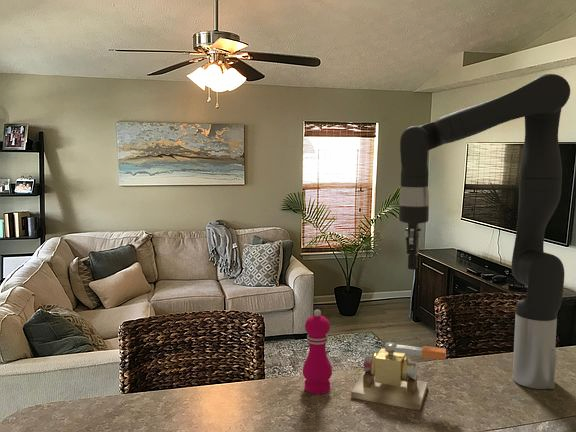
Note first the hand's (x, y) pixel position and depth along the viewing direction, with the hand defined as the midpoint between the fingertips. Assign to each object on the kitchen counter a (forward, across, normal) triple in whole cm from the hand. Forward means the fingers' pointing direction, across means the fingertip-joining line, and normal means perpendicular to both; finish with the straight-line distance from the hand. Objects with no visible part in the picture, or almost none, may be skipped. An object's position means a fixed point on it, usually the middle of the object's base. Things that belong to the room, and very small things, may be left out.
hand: (412, 268), depth 133 cm
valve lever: (+17, -17, -2) cm, 24 cm away
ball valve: (+24, -17, +3) cm, 29 cm away
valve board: (+27, -17, +3) cm, 32 cm away
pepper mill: (+27, -21, +20) cm, 40 cm away
